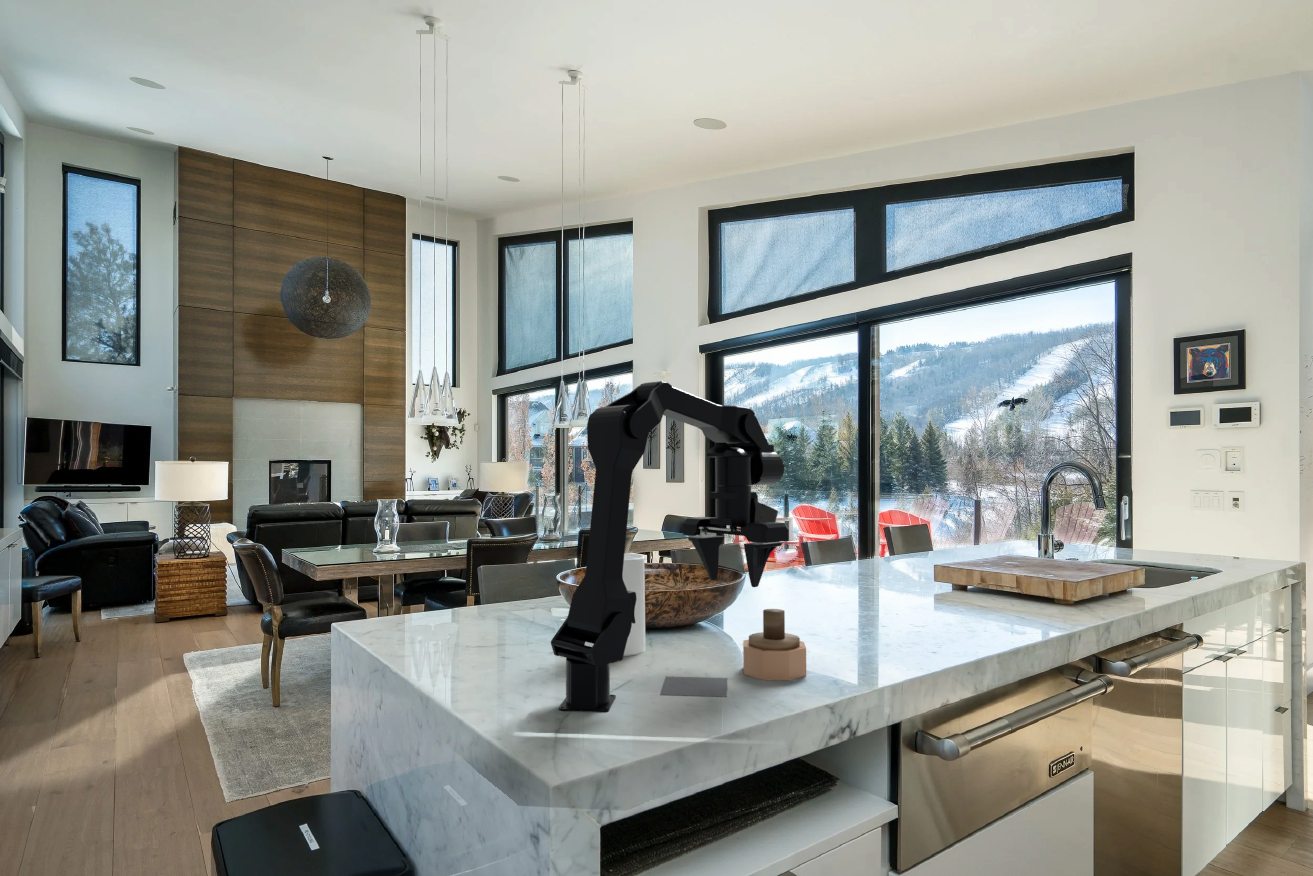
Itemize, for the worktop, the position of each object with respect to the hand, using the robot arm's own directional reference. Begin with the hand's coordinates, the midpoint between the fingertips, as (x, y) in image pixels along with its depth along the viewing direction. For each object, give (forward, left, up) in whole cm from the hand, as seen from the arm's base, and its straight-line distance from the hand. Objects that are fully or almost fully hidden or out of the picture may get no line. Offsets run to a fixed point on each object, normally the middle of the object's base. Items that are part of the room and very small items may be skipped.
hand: (733, 583), depth 121 cm
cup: (+5, +19, -13) cm, 23 cm away
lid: (-6, -6, -8) cm, 12 cm away
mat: (-15, +6, -12) cm, 20 cm away
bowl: (-6, -6, -12) cm, 15 cm away
